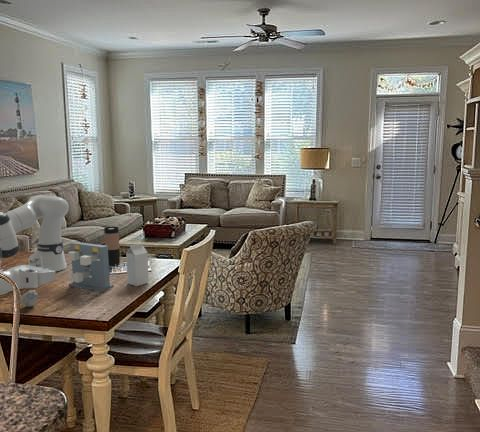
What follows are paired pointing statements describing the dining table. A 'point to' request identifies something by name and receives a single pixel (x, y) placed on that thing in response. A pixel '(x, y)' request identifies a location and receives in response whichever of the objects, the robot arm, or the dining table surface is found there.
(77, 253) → the button top left
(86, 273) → the button bottom
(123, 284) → the dining table surface
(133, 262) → the milk carton
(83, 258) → the button top right
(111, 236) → the travel mug
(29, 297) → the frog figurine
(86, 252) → the panel
